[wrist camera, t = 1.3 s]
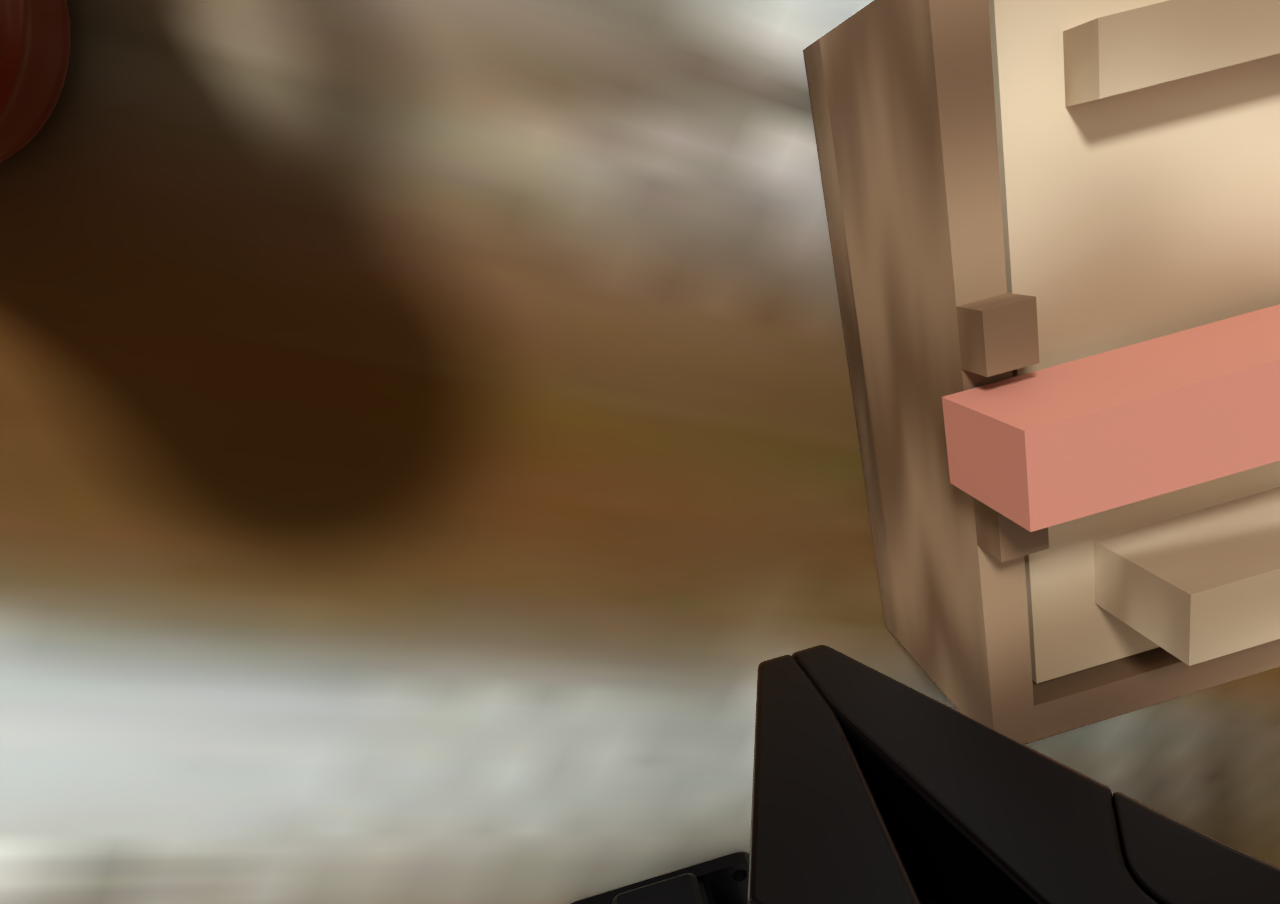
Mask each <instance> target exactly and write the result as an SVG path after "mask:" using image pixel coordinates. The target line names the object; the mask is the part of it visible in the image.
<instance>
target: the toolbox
mask: <svg viewBox="0 0 1280 904" xmlns="http://www.w3.org/2000/svg"><path fill="white" fill-rule="evenodd" d="M803 53H804V60H805V67H806V74H807V81H808V88H809V95H810V102H811V109H812V116H813V123H814V130H815V137H816V144H817V151H818V158H819V165H820V172H821V179H822V186H823V193H824V200H825V207H826V214H827V221H828V228H829V235H830V242H831V249H832V256H833V263H834V270H835V277H836V284H837V291H838V298H839V305H840V312H841V319H842V326H843V333H844V340H845V346H846V353H847V360H848V367H849V374H850V381H851V388H852V395H853V402H854V409H855V416H856V423H857V430H858V437H859V444H860V451H861V458H862V465H863V472H864V479H865V486H866V493H867V500H868V507H869V514H870V521H871V528H872V535H873V542H874V549H875V556H876V563H877V570H878V577H879V584H880V591H881V598H882V605H883V612H884V619H885V626H886V628H887V629H888V630H889V631H890V632H891V633H892V634H893V636H894V637H895V638H896V639H897V640H898V641H899V643H900V644H901V645H902V646H903V647H904V648H905V649H906V651H907V652H908V653H909V654H910V655H911V656H912V657H913V659H914V660H915V661H916V662H917V663H918V664H919V665H920V667H921V668H922V669H923V670H924V671H925V672H926V673H927V675H928V676H929V677H930V678H931V679H932V680H933V681H934V683H935V684H936V685H937V686H938V687H939V688H940V689H941V691H942V692H943V693H944V694H945V695H946V696H947V697H948V699H949V700H950V701H951V702H952V703H953V704H954V705H955V707H956V708H957V709H958V710H959V711H960V712H961V713H962V714H964V715H966V716H968V717H970V718H972V719H974V720H976V721H978V722H980V723H982V724H984V725H986V726H988V727H990V728H992V729H994V730H996V731H998V732H1000V733H1002V734H1003V735H1005V736H1007V737H1009V738H1011V739H1013V740H1015V741H1017V742H1019V743H1021V744H1023V745H1024V744H1027V743H1030V742H1033V741H1037V740H1040V739H1043V738H1047V737H1050V736H1053V735H1056V734H1060V733H1063V732H1066V731H1070V730H1073V729H1076V728H1079V727H1083V726H1086V725H1089V724H1092V723H1096V722H1099V721H1102V720H1106V719H1109V718H1112V717H1115V716H1119V715H1122V714H1125V713H1129V712H1132V711H1135V710H1138V709H1142V708H1145V707H1148V706H1152V705H1155V704H1158V703H1161V702H1165V701H1168V700H1171V699H1175V698H1178V697H1181V696H1184V695H1188V694H1191V693H1194V692H1198V691H1201V690H1204V689H1207V688H1211V687H1214V686H1217V685H1221V684H1224V683H1227V682H1230V681H1234V680H1237V679H1240V678H1244V677H1247V676H1250V675H1253V674H1257V673H1260V672H1263V671H1266V670H1270V669H1273V668H1276V667H1280V639H1277V640H1274V641H1270V642H1267V643H1264V644H1261V645H1257V646H1254V647H1251V648H1247V649H1244V650H1241V651H1237V652H1234V653H1231V654H1227V655H1224V656H1221V657H1218V658H1214V659H1211V660H1208V661H1204V662H1201V663H1198V664H1194V665H1191V666H1188V665H1187V664H1185V663H1184V662H1182V661H1181V660H1179V659H1178V658H1176V657H1175V656H1173V655H1172V654H1170V653H1169V652H1167V651H1166V650H1164V649H1163V648H1161V647H1158V648H1154V649H1151V650H1148V651H1144V652H1141V653H1138V654H1134V655H1131V656H1128V657H1124V658H1121V659H1118V660H1114V661H1111V662H1108V663H1104V664H1101V665H1098V666H1094V667H1091V668H1088V669H1084V670H1081V671H1078V672H1074V673H1071V674H1068V675H1064V676H1061V677H1058V678H1054V679H1051V680H1048V681H1044V682H1041V683H1038V684H1037V683H1035V682H1034V681H1033V680H1032V668H1031V653H1030V637H1029V622H1028V606H1027V591H1026V576H1025V560H1024V556H1025V555H1028V554H1032V553H1035V552H1039V551H1042V550H1046V549H1049V536H1048V527H1047V528H1043V529H1040V530H1036V531H1033V532H1030V531H1028V530H1026V529H1025V528H1023V527H1021V526H1020V525H1018V524H1017V523H1015V522H1013V521H1012V520H1010V519H1008V518H1007V517H1005V516H1003V515H1002V514H1000V513H999V512H997V511H995V510H994V509H992V508H990V507H989V506H987V505H985V504H984V503H982V502H981V501H979V500H977V499H976V498H974V497H972V496H971V495H969V494H968V493H966V492H964V491H963V490H961V489H959V488H958V487H956V486H954V485H953V484H951V483H950V475H949V465H948V455H947V445H946V435H945V425H944V415H943V405H942V397H943V396H947V395H951V394H954V393H958V392H962V391H965V390H969V389H973V388H976V387H980V386H983V385H987V384H991V383H994V382H998V381H1002V380H1005V379H1009V378H1013V375H1012V370H1016V369H1019V368H1023V367H1027V366H1030V365H1034V364H1037V363H1040V362H1039V342H1038V323H1037V304H1036V297H1035V296H1028V295H1020V294H1012V293H1007V283H1006V267H1005V252H1004V237H1003V221H1002V206H1001V190H1000V175H999V160H998V144H997V129H996V113H995V98H994V83H993V67H992V52H991V36H990V21H989V6H988V0H874V1H873V2H871V3H870V4H869V5H867V6H866V7H864V8H863V9H861V10H860V11H859V12H857V13H856V14H854V15H853V16H851V17H850V18H848V19H847V20H846V21H844V22H843V23H841V24H840V25H838V26H837V27H836V28H834V29H833V30H831V31H830V32H828V33H827V34H826V35H824V36H823V37H821V38H820V39H818V40H817V41H816V42H814V43H813V44H811V45H810V46H808V47H807V48H806V49H804V50H803Z"/></svg>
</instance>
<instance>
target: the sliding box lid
mask: <svg viewBox="0 0 1280 904" xmlns="http://www.w3.org/2000/svg"><path fill="white" fill-rule="evenodd" d="M988 6H989V21H990V36H991V52H992V67H993V83H994V98H995V113H996V129H997V144H998V160H999V175H1000V190H1001V206H1002V221H1003V237H1004V252H1005V267H1006V283H1007V293H1012V294H1020V295H1028V296H1035V297H1036V304H1037V323H1038V342H1039V362H1040V363H1037V364H1034V365H1030V366H1027V367H1023V368H1019V369H1016V370H1012V375H1013V377H1016V376H1020V375H1024V374H1027V373H1031V372H1034V371H1038V370H1042V369H1045V368H1049V367H1053V366H1056V365H1060V364H1064V363H1067V362H1071V361H1075V360H1078V359H1082V358H1085V357H1089V356H1093V355H1096V354H1100V353H1104V352H1107V351H1111V350H1115V349H1118V348H1122V347H1126V346H1129V345H1133V344H1136V343H1140V342H1144V341H1147V340H1151V339H1155V338H1158V337H1162V336H1166V335H1169V334H1173V333H1177V332H1180V331H1184V330H1187V329H1191V328H1195V327H1198V326H1202V325H1206V324H1209V323H1213V322H1217V321H1220V320H1224V319H1228V318H1231V317H1235V316H1238V315H1242V314H1246V313H1249V312H1253V311H1257V310H1260V309H1264V308H1268V307H1271V306H1275V305H1279V304H1280V0H988ZM1048 536H1049V549H1046V550H1042V551H1039V552H1035V553H1032V554H1028V555H1025V556H1024V560H1025V576H1026V591H1027V606H1028V622H1029V637H1030V653H1031V668H1032V680H1033V681H1034V682H1035V683H1037V684H1038V683H1041V682H1044V681H1048V680H1051V679H1054V678H1058V677H1061V676H1064V675H1068V674H1071V673H1074V672H1078V671H1081V670H1084V669H1088V668H1091V667H1094V666H1098V665H1101V664H1104V663H1108V662H1111V661H1114V660H1118V659H1121V658H1124V657H1128V656H1131V655H1134V654H1138V653H1141V652H1144V651H1148V650H1151V649H1154V648H1158V647H1161V648H1163V649H1164V650H1166V651H1167V652H1169V653H1170V654H1172V655H1173V656H1175V657H1176V658H1178V659H1179V660H1181V661H1182V662H1184V663H1185V664H1187V665H1188V666H1191V665H1194V664H1198V663H1201V662H1204V661H1208V660H1211V659H1214V658H1218V657H1221V656H1224V655H1227V654H1231V653H1234V652H1237V651H1241V650H1244V649H1247V648H1251V647H1254V646H1257V645H1261V644H1264V643H1267V642H1270V641H1274V640H1277V639H1280V461H1276V462H1273V463H1270V464H1266V465H1263V466H1259V467H1256V468H1252V469H1249V470H1245V471H1242V472H1238V473H1235V474H1231V475H1228V476H1224V477H1221V478H1217V479H1214V480H1210V481H1207V482H1203V483H1200V484H1196V485H1193V486H1190V487H1186V488H1183V489H1179V490H1176V491H1172V492H1169V493H1165V494H1162V495H1158V496H1155V497H1151V498H1148V499H1144V500H1141V501H1137V502H1134V503H1130V504H1127V505H1123V506H1120V507H1116V508H1113V509H1110V510H1106V511H1103V512H1099V513H1096V514H1092V515H1089V516H1085V517H1082V518H1078V519H1075V520H1071V521H1068V522H1064V523H1061V524H1057V525H1054V526H1050V527H1048Z"/></svg>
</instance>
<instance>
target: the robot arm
mask: <svg viewBox="0 0 1280 904" xmlns="http://www.w3.org/2000/svg"><path fill="white" fill-rule="evenodd" d="M737 870H738V871H737ZM572 904H1280V868H1278V867H1276V866H1273V865H1271V864H1269V863H1267V862H1264V861H1262V860H1260V859H1257V858H1255V857H1253V856H1251V855H1248V854H1246V853H1244V852H1241V851H1239V850H1237V849H1235V848H1232V847H1230V846H1228V845H1226V844H1224V843H1222V842H1220V841H1218V840H1216V839H1214V838H1212V837H1209V836H1207V835H1205V834H1203V833H1201V832H1199V831H1197V830H1195V829H1193V828H1191V827H1189V826H1187V825H1184V824H1182V823H1180V822H1178V821H1176V820H1174V819H1172V818H1170V817H1168V816H1166V815H1164V814H1161V813H1159V812H1157V811H1155V810H1153V809H1151V808H1149V807H1148V806H1146V805H1144V804H1142V803H1140V802H1138V801H1136V800H1134V799H1132V798H1130V797H1128V796H1126V795H1124V794H1122V793H1119V792H1116V793H1114V794H1113V796H1112V793H1111V790H1110V789H1109V788H1108V787H1107V786H1105V785H1103V784H1101V783H1099V782H1097V781H1095V780H1093V779H1091V778H1089V777H1087V776H1085V775H1083V774H1081V773H1079V772H1077V771H1075V770H1073V769H1071V768H1069V767H1067V766H1065V765H1063V764H1061V763H1059V762H1057V761H1055V760H1053V759H1051V758H1049V757H1047V756H1045V755H1043V754H1041V753H1039V752H1037V751H1035V750H1033V749H1031V748H1029V747H1027V746H1025V745H1023V744H1021V743H1019V742H1017V741H1015V740H1013V739H1011V738H1009V737H1007V736H1005V735H1003V734H1002V733H1000V732H998V731H996V730H994V729H992V728H990V727H988V726H986V725H984V724H982V723H980V722H978V721H976V720H974V719H972V718H970V717H968V716H966V715H964V714H962V713H960V712H958V711H956V710H954V709H952V708H950V707H948V706H946V705H944V704H942V703H940V702H938V701H936V700H934V699H932V698H930V697H928V696H926V695H924V694H922V693H920V692H918V691H916V690H914V689H912V688H910V687H908V686H906V685H904V684H902V683H900V682H898V681H896V680H894V679H892V678H890V677H888V676H886V675H884V674H882V673H880V672H878V671H876V670H874V669H872V668H870V667H868V666H866V665H864V664H862V663H860V662H858V661H856V660H854V659H852V658H850V657H848V656H846V655H844V654H842V653H840V652H838V651H836V650H834V649H832V648H830V647H828V646H825V645H819V646H815V647H812V648H808V649H805V650H802V651H798V652H795V653H793V655H792V656H791V655H784V656H781V657H777V658H774V659H771V660H767V661H764V662H761V663H760V664H759V667H758V680H757V702H756V725H755V748H754V770H753V793H752V816H751V838H750V858H749V856H747V855H746V854H742V853H736V854H732V855H728V856H725V857H722V858H719V859H715V860H712V861H709V862H706V863H702V864H699V865H696V866H693V867H689V868H686V869H683V870H679V871H676V872H673V873H670V874H666V875H663V876H660V877H657V878H653V879H650V880H647V881H644V882H640V883H637V884H634V885H631V886H627V887H624V888H621V889H617V890H614V891H611V892H608V893H604V894H601V895H598V896H595V897H591V898H588V899H585V900H582V901H578V902H575V903H572Z"/></svg>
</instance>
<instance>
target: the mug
mask: <svg viewBox="0 0 1280 904" xmlns="http://www.w3.org/2000/svg"><path fill="white" fill-rule="evenodd" d="M70 36H71V30H70V18H69V9H68V3H67V0H0V162H2V161H4V160H6V159H8V158H9V157H10V156H12V155H13V154H15V153H16V152H18V151H19V150H21V149H22V148H23V147H24V146H25V145H26V144H27V143H28V142H29V141H31V140H32V139H33V138H34V136H35V135H36V134H37V133H38V132H39V131H40V129H41V128H42V127H43V126H44V124H45V123H46V121H47V120H48V118H49V117H50V115H51V114H52V112H53V110H54V108H55V106H56V104H57V102H58V100H59V97H60V94H61V91H62V89H63V86H64V83H65V78H66V74H67V70H68V64H69V56H70Z"/></svg>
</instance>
